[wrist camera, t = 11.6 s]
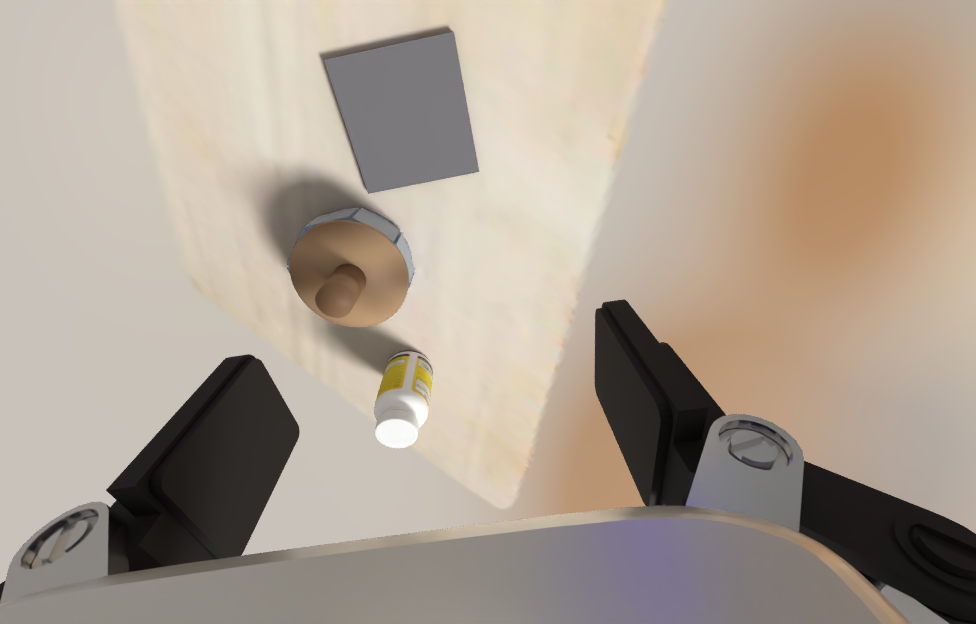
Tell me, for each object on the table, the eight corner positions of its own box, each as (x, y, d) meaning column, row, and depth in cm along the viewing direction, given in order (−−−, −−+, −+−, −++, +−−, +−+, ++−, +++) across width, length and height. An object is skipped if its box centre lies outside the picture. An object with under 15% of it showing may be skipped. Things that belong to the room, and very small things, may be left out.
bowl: (289, 220, 35) (269, 234, 31) (393, 197, 34) (384, 208, 31) (333, 312, 40) (320, 332, 36) (424, 293, 39) (420, 311, 35)
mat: (326, 60, 29) (323, 59, 28) (453, 32, 28) (453, 31, 28) (369, 192, 34) (368, 193, 33) (478, 170, 33) (479, 171, 33)
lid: (273, 231, 31) (239, 253, 27) (390, 209, 31) (376, 228, 26) (320, 330, 36) (298, 363, 31) (421, 313, 36) (414, 344, 31)
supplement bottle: (382, 380, 44) (361, 447, 36) (392, 344, 42) (372, 406, 33) (426, 391, 45) (416, 458, 37) (439, 356, 43) (431, 420, 34)
